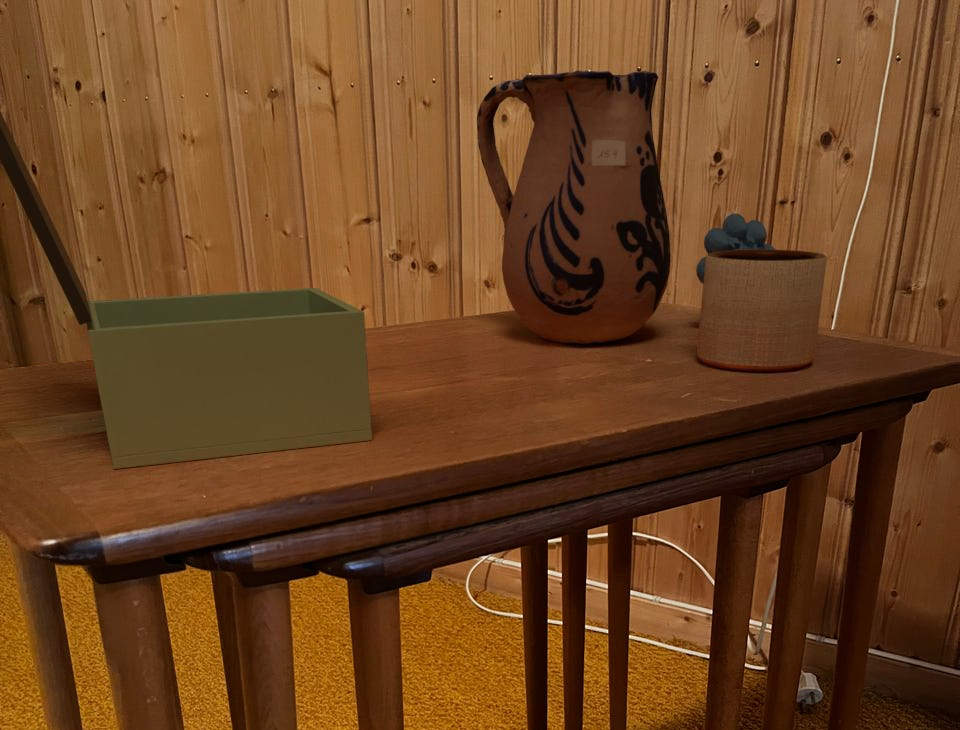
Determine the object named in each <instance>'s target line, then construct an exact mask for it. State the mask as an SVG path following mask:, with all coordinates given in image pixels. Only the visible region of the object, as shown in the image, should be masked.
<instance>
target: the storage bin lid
mask: <svg viewBox="0 0 960 730" xmlns="http://www.w3.org/2000/svg"><path fill="white" fill-rule="evenodd" d="M0 162H1V164H2V167H3V169H4V171H5V173H6V175H7V177H8V180H9V182H10V183H11V185H12V187H13V189H14V192H15V194H16V196H17V198H18V200H19V202H20V204H21V206H22V208H23V210H24V212H25V215H26V217H27V219H28V221H29V223H30V224H31V225H30V226H31V227H32V229H33V231H34V233H35V235H36V238H37V239H38V241H39V243H40V246H41V248H42V250H43V252H44V254H45V256H46V258H47V260H48V262H49V264H50V266H51V268H52V270H53V273H54V275H55V277H56V279H57V281H58V283H59V286H60V287H61V290H62V291H63V293H64V296H65V297H66V300H67V301H68V304H69V306H70V308H71V310H72V312H73V314H74V316H75V318H76V320H77V323H78V324H79V325H80V326H82V325H84V324H86V323H88V322H90V321H92V318H91V314H90V309H89V305H88V301H89V300H88V296H87V292H86V290H85V288H84V286H83V284H82V282H81V279H80V277H79V275H78V273H77V271H76V269H75V267H74V264H73V262H72V260H71V257H70V256H69V254H68V251H67V250H66V248H65V245H64V243H63V241H62V239H61V237H60V234H59V232H58V231H57V228H56V226H55V223H54V222H53V219H52V217H51V215H50V214H49V211H48V209H47V207H46V205H45V203H44V200H43V199H42V197H41V194H40V192H39V189H38V188H37V186H36V183H35V182H34V179H33V178H32V175H31V174H30V171H29V168H28V167H27V165H26V162H25V159H24V158H23V156H22V153H21V151H20V149H19V147H18V145H17V143H16V141H15V139H14V137H13V134H12V132H11V131H10V128H9V126H8V124H7V122H6V120H5V118H4V115H3V114H2V111H1V110H0Z"/></svg>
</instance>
